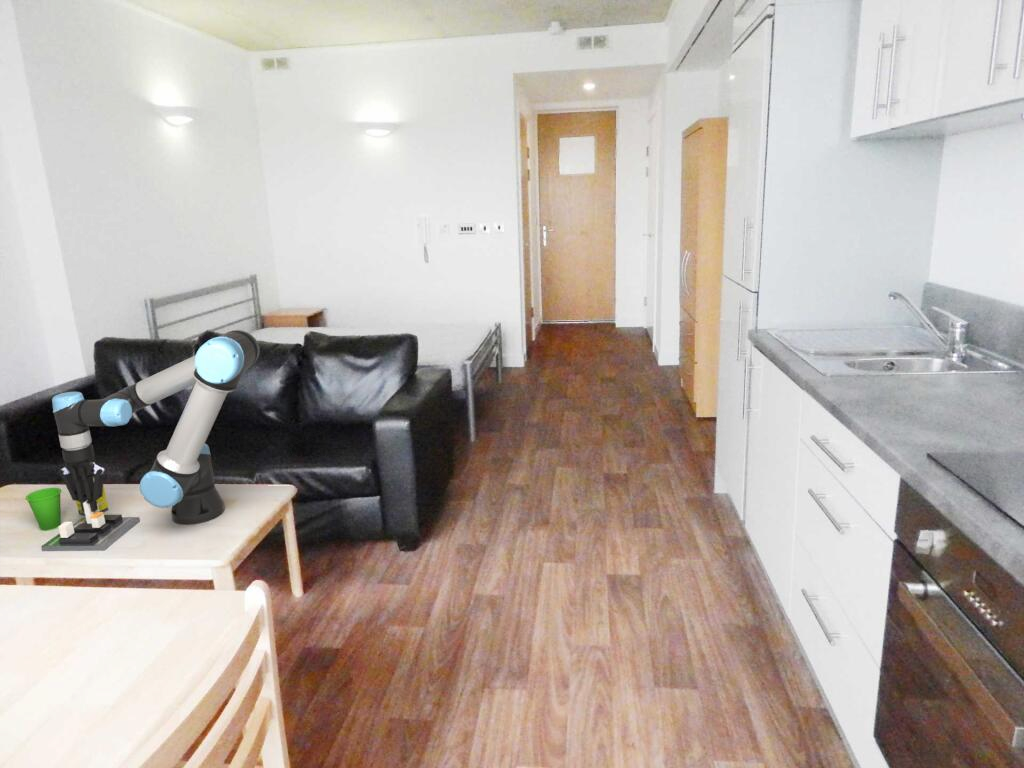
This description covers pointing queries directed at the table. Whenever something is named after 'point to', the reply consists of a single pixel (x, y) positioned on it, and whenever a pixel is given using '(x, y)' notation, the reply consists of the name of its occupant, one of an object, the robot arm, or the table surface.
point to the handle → (66, 529)
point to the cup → (46, 507)
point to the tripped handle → (97, 519)
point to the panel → (92, 546)
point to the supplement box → (101, 503)
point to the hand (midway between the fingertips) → (92, 521)
